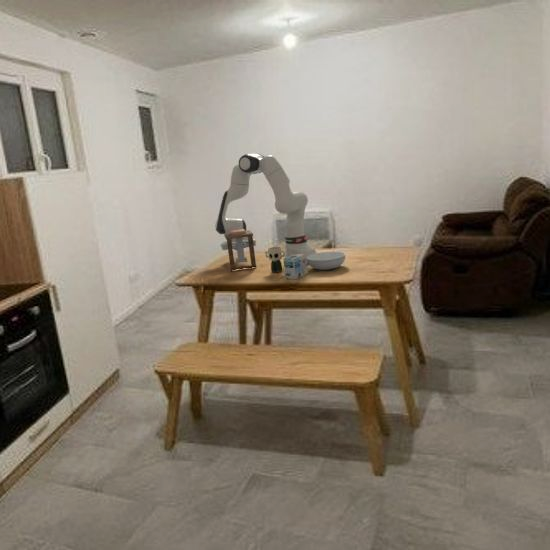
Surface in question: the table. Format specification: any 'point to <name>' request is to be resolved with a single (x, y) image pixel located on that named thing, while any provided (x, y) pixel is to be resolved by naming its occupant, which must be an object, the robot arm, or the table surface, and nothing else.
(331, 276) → the table surface
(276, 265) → the character mug
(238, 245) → the hanging peg
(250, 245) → the brown wooden frame rack
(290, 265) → the light bulb box
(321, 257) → the serving bowl
